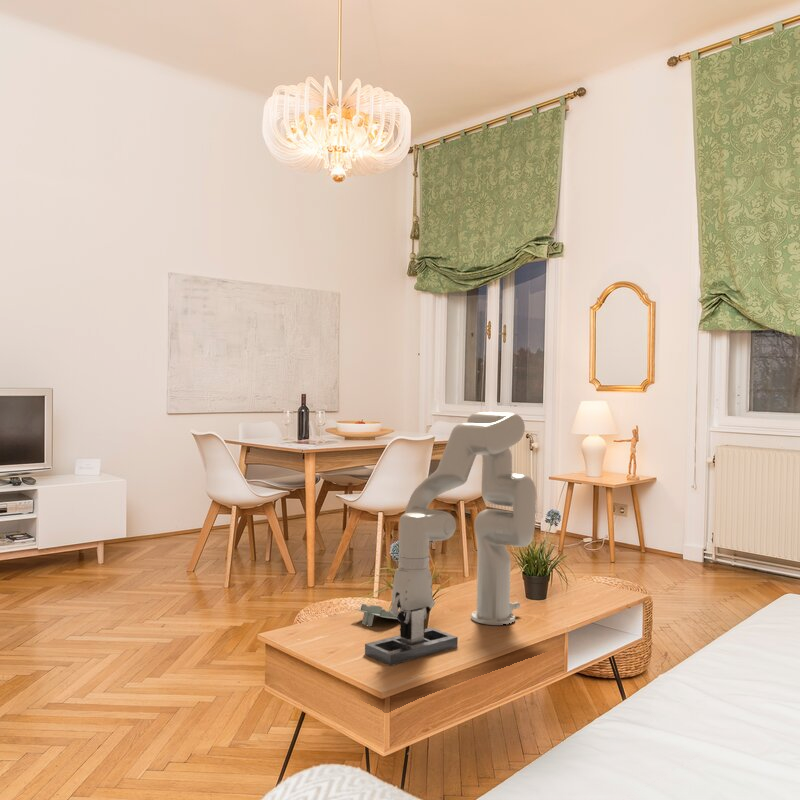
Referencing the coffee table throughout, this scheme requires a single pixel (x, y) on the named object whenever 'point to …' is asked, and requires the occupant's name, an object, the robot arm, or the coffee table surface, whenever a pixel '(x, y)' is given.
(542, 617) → the coffee table surface
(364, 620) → the metal bracket
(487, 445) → the robot arm
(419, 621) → the steel peg
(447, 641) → the compartment tray
